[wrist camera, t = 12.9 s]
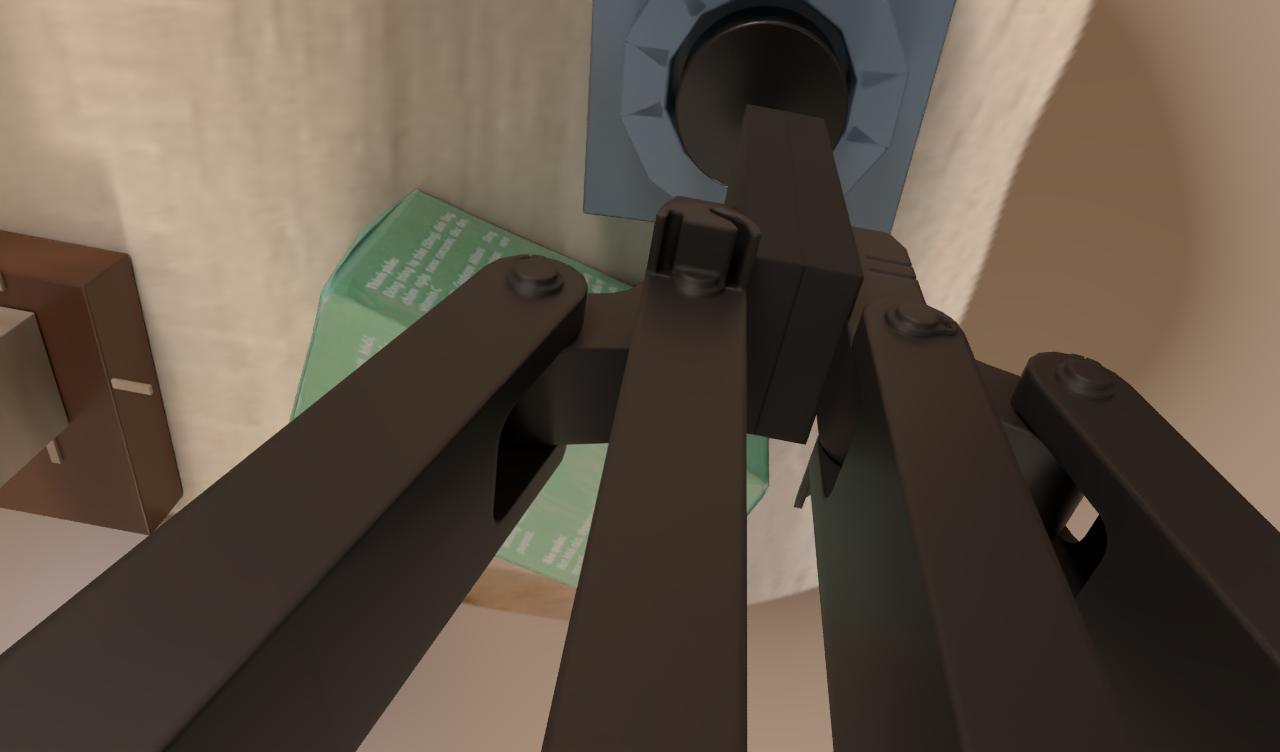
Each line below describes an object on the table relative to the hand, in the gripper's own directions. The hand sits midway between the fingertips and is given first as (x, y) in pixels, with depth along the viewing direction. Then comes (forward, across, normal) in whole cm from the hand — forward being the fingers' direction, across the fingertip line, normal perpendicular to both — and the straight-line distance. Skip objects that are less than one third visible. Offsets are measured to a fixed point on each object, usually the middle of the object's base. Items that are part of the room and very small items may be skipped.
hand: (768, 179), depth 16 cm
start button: (+6, 0, 0) cm, 6 cm away
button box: (+9, 0, 0) cm, 9 cm away
